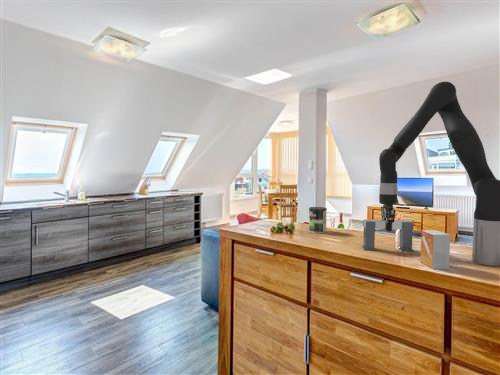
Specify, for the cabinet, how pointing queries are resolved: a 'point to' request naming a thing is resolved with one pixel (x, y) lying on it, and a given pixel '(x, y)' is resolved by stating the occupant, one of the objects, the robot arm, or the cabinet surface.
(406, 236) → the post near
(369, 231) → the post far
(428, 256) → the small box
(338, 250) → the cabinet surface
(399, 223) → the rail
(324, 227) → the coffee can
